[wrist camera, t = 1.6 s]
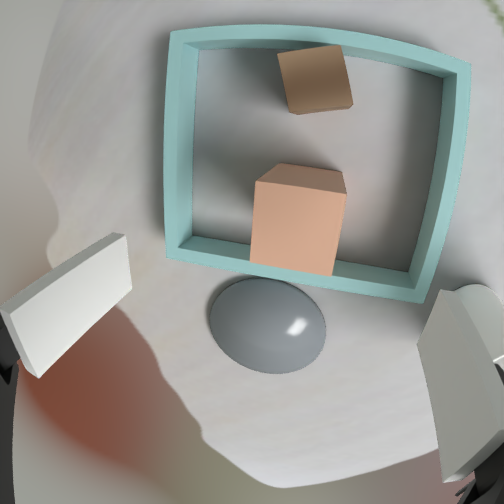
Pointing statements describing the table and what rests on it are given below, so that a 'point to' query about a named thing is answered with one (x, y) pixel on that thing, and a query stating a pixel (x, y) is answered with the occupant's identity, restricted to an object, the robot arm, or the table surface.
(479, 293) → the cup
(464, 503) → the robot arm
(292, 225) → the painted box
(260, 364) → the grey dome puck
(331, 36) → the corral
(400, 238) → the table surface
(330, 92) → the walnut block
